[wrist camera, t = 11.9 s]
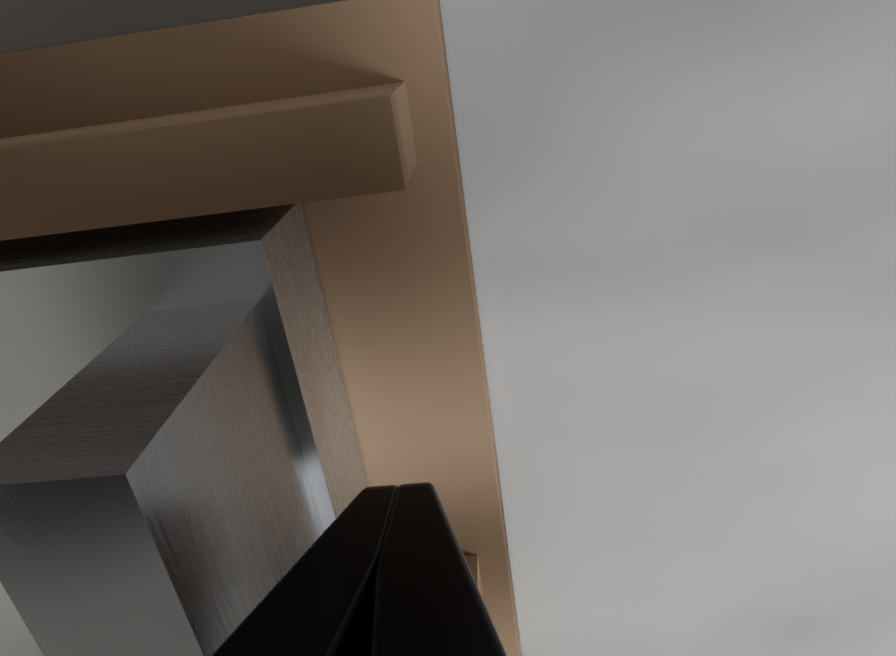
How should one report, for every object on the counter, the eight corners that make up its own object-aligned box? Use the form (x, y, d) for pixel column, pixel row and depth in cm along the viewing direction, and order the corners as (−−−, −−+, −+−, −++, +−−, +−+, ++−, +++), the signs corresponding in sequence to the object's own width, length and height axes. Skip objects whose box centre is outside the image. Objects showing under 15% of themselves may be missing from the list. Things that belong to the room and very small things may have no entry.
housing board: (531, 733, 16) (541, 872, 13) (-147, 764, 17) (-253, 891, 15) (438, -10, 9) (423, -21, 6) (-662, 159, 10) (-1024, 205, 8)
